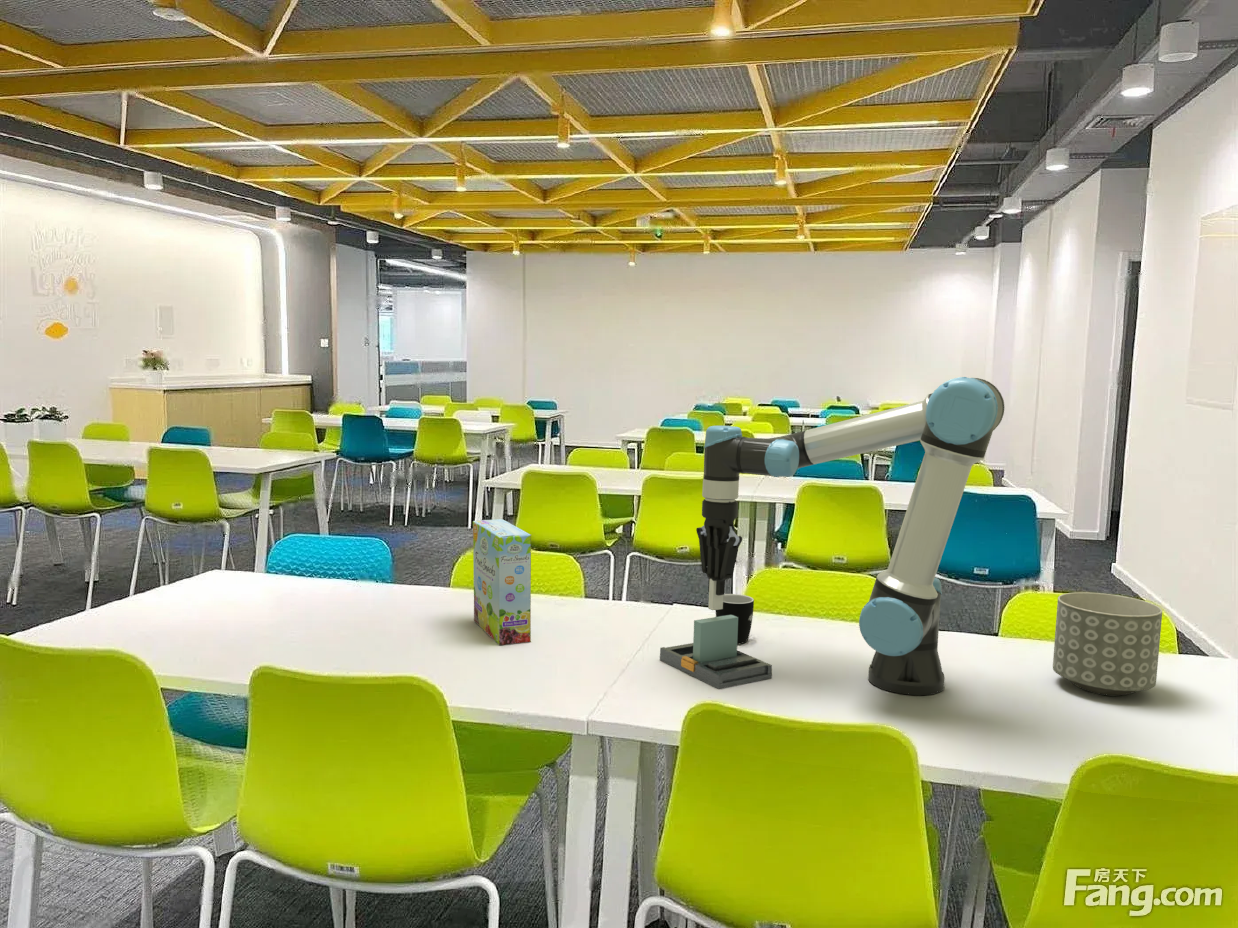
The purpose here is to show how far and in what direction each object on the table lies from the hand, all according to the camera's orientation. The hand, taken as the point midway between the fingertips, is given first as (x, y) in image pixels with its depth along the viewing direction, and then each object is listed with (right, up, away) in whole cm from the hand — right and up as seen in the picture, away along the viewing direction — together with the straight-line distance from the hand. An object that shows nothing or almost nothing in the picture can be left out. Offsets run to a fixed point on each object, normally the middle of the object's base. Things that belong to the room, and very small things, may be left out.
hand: (715, 608), depth 198 cm
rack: (0, -13, +1) cm, 13 cm away
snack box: (-49, -10, +25) cm, 56 cm away
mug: (+7, -11, +24) cm, 28 cm away
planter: (+79, -16, -6) cm, 81 cm away
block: (0, -12, +1) cm, 12 cm away
